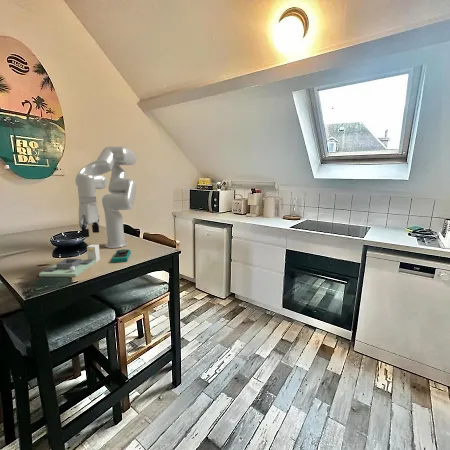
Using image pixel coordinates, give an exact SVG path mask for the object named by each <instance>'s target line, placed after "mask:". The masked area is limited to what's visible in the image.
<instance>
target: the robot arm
mask: <svg viewBox="0 0 450 450" xmlns="http://www.w3.org/2000/svg"><path fill="white" fill-rule="evenodd" d="M136 162H137V156H136V154H135V152H134V151H133V150H131V149H129V148H127V147H126V146H125V147H124V146H107V147H104V148H103V149H102V151H101V153H100V154H99V155H98V157H97V158H96V160H94V161H92V162H90V163H88V164H86V165H84V166H83V167H81V169H80V170H79V171H78V173H77V174H76V176H75V179H74V180H75V181H74V183H75V185H76V187H77V195H78V201H79V202H78V224H79V228H80V230H81V237H82V238H90V229H89V226H90V225H91V229H92V233H94V234H95V233H96V234H99V233H100V225H99V224H100V222H99V221H100V215H99V213H98V212H99V211H98V206H97V203H98V201H97V194H96V193H97V190H103V189H105V188H106V186H107V185H108V188H107V189H108V192H109V193H107V194H104V195H103V196H102V199H101V204H102V208H103V211H104V216H105V217H104V218H105V227H106V228H105V229H106V237H107V238H106V239H107V240H106V241H107V242H106V243H105V244H104V246H105V248H108V249H119V248H122V247H123V248H124V247H126V246H127V245H128V242H127V241H125V239H126V236H125V232H124V217H123V215H122V213H121V212H120V211H130V210H132V209H133V207H134V204H135V200H136V199H135V198H136V193H137V183H136V181H135V180H133V178H127V173H126V171H125V170H124V169H123V168H122V167H121V166H134V165H135V164H136ZM108 172H110V178H109V183H108V180H107V177H106V176H105V175H103V174H107V173H108Z"/></svg>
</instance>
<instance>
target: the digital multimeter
mask: <svg viewBox="0 0 450 450" xmlns="http://www.w3.org/2000/svg"><path fill="white" fill-rule="evenodd" d="M131 252H132V250H131V249H117V250H116V251H115V253H114V256H113V257H112V258H111V263H113V264H115V263H126V262H127V263H128V261H129V258H130V255H132V253H131Z"/></svg>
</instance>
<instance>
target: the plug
mask: <svg viewBox="0 0 450 450" xmlns="http://www.w3.org/2000/svg"><path fill="white" fill-rule="evenodd" d="M86 251H87V252H86V253H87V259H92V260H96V263H97V262H99V261H100V260H101V256H100V255H101V253H100V252H101V251H100V245H99V244H90V245H88V246H86Z"/></svg>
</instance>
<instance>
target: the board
mask: <svg viewBox="0 0 450 450" xmlns="http://www.w3.org/2000/svg"><path fill="white" fill-rule="evenodd" d="M96 263H97V262H96V260H92V259H88V258H87V259H82V258H65V259H62V260H60V261H59V262H57V263H56V264H54V265H52V266H50V267H47V268H45V269H43V271H41V272H39V273H38V277H54V278H55V277H57V278H58V277H66V278H67V277H69V278H70V277H71V278H72V277H78V276H79V275H80V274H82V273H83V272H85V271H86V270H88V268H90V267H92V266H93V265H95V264H96Z"/></svg>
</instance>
